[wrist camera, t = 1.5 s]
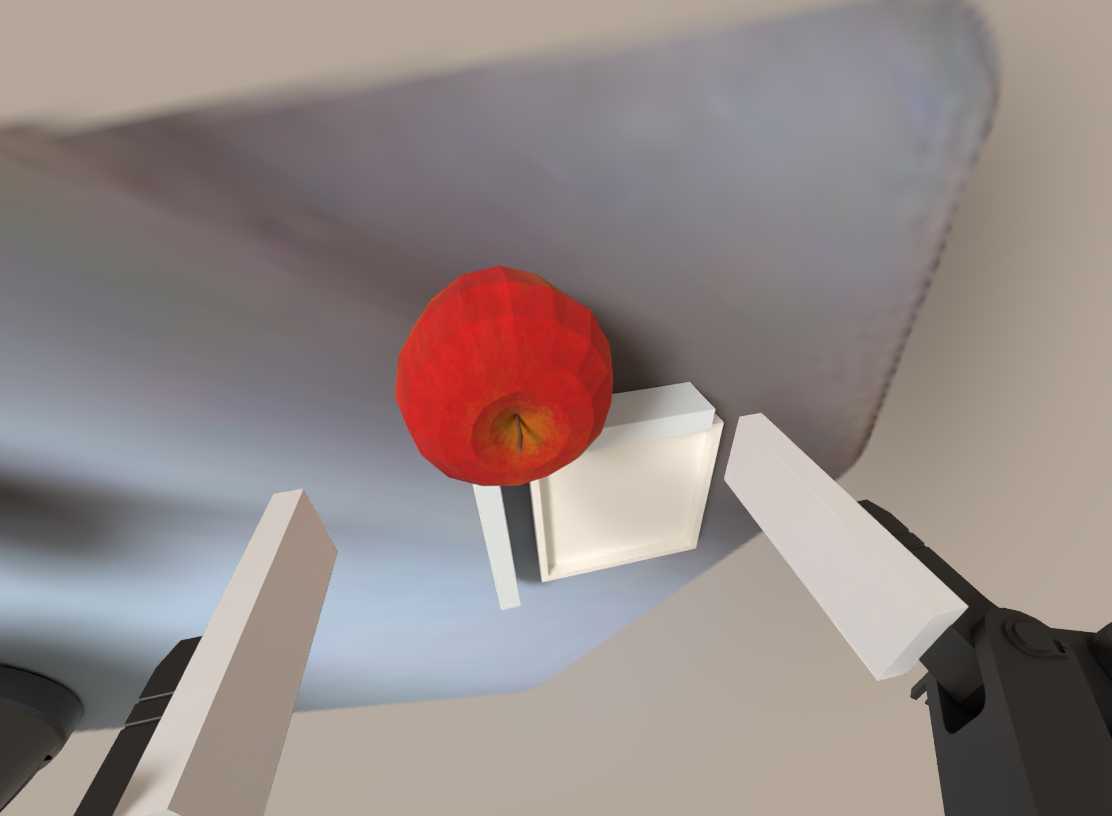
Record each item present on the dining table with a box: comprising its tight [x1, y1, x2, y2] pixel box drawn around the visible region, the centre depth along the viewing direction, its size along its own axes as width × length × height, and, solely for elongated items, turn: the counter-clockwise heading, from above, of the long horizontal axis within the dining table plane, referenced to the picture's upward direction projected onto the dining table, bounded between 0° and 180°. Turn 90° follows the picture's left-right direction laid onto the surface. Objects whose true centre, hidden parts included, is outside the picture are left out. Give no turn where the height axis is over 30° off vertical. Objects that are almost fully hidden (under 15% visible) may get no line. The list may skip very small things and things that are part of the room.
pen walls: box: [473, 382, 715, 610], centre depth 31 cm, size 16×17×4 cm
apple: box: [395, 266, 613, 486], centre depth 19 cm, size 9×9×12 cm
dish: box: [529, 413, 724, 582], centre depth 33 cm, size 14×14×2 cm
